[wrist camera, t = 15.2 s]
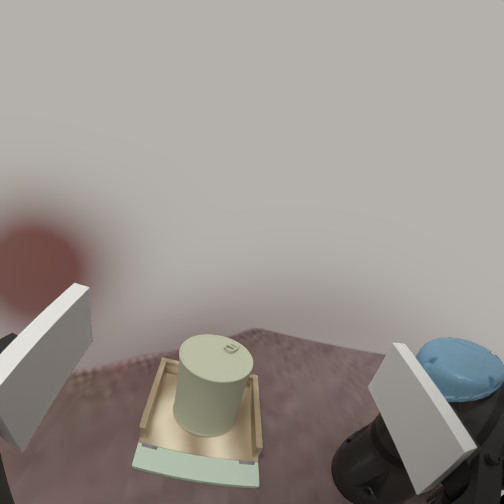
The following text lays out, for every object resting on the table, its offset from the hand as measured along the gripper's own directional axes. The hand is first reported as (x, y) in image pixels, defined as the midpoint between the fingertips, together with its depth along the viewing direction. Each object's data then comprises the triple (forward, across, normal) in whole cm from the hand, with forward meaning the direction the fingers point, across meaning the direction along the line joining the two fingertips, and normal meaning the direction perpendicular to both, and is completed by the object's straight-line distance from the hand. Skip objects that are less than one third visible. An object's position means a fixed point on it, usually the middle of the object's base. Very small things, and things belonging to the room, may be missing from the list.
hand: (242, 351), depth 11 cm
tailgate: (+9, 0, -28) cm, 29 cm away
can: (+19, 0, -27) cm, 33 cm away
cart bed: (+19, 0, -28) cm, 34 cm away
